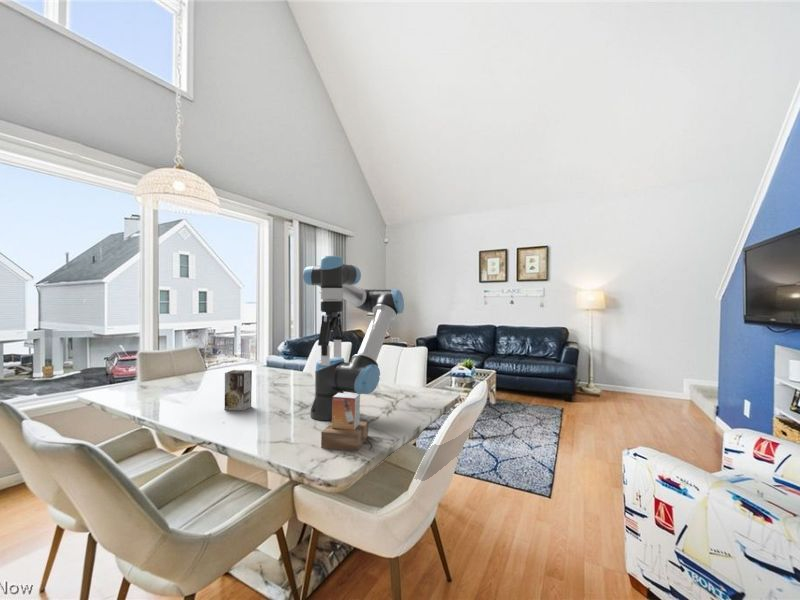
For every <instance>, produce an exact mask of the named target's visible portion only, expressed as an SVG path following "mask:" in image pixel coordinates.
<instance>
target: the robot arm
mask: <svg viewBox="0 0 800 600" xmlns="http://www.w3.org/2000/svg"><path fill="white" fill-rule="evenodd" d="M302 279H303V281H304V283H305V284H306V285H308V286H318V287H320V291H319V294H320V300H322V301H321V302H320V312H321V313H325V315H322V316H321V324H320V331H319V336H318V343H317V346H318V347H319V346H320V360H318V361H317V362H316V364H315V370H314V373H315V375H314V376H315V379H314V381H315V383H314V385H315V386H314V387H315V388H314V399H313V402H312V404H311V407H310V413H309V414H310V418H312V419H313V420H316V421H332V404H333V396H335V395H336V394H337V393H350V394H360V395H369V394H371V393H373V392H374V391H375V390H376V388H377V387H378V386H379V383H380V379H381V378H380V376H381V370H380V367H379V364H378V362H377V361H378V358H379V354H380V353H381V350H382V347H383V344H384V342H385V339H386V336H387V333H388V330H389V327H390V324H391V322H392V321H394V320H395V319H396V318H397V315H400V314H402V313H404V309H405V301H404V295H403V293H402V291H401V290H400V289H395V288H392V289H364V288H363V287H357V286H355V285H356V284H358V283H359V282H360V280H361V279H362V273H361V270H360V268H359V267H357V266H355V265H352V264H345V263H344V261H343V257H341V256H340V255H338V256H337V255H325V256H324V255H323V256H322V257H321V259H320V265H310V266H306V267H305V268H304V269H303V274H302ZM343 300H346V301H348V303H349V304H350V305H351V306H352V307H354V308H356V309H359V310H361V311H363V312H366V313H372V314H373V316H372V318H371V320H370V323H369V325H368V327H367V330H366V332H365V335H364V337H363V339H362V342H361V344H360V346H359V349H358V351H357V354H354V355H352V356H351V358H350V361H349V362H346V361H345V359H344V358H343V357H342V340H345V339H344V338H345V337H344V331H343V325H342V324H343V323H342V315H341V312H343V309H344V308H343V306H344V305H343V303H344V302H343ZM332 334H333V338H334V339H333V357H332V358H331V357H330V355H331V353H330V352H331V348H330V347H331V346H330V340H331V335H332Z"/></svg>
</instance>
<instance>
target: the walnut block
mask: <svg viewBox="0 0 800 600" xmlns="http://www.w3.org/2000/svg"><path fill="white" fill-rule="evenodd" d="M320 434H321V436H320V439H321V440H320V445H321V446H320V448H321V449H331V450H339V451H340V450H341V451H342V450H343V451H352V452H358V451H359V449H360V448H361V446H363V444H364V442H365V440H366V439H367V438H368V437H367V436H368V435H369V421H366V420H365V421H363V420H359V425H358V426H357V427H356V429H355V430H348V429H339V428H332V422H331V423H329V424H328V425H327V426H326V427H325V428H324V429H323V430H322V431H321V433H320Z"/></svg>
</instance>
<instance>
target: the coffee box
mask: <svg viewBox="0 0 800 600" xmlns="http://www.w3.org/2000/svg"><path fill="white" fill-rule="evenodd" d="M252 373H253V371H252V370H249V369H247V370H244V369H242V370H241V369H237V370H236V369H233V370H230V371H228V372H224V411H245V410H247V409H249V408H251V407H252V388H253V387H252V380H253V378H252V376H253V375H252Z"/></svg>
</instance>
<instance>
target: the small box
mask: <svg viewBox="0 0 800 600" xmlns="http://www.w3.org/2000/svg"><path fill="white" fill-rule="evenodd" d="M360 404H361V394H357V393H349V392H344V393H337V394H336V395H335V396H333V404H332V420H331V423H332V428H339V429H348V430H355V429H356V427H357V426H358V425H359V421H360V415H361V414H360V413H361V412H360V410H361V409H360V408H361V405H360Z"/></svg>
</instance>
